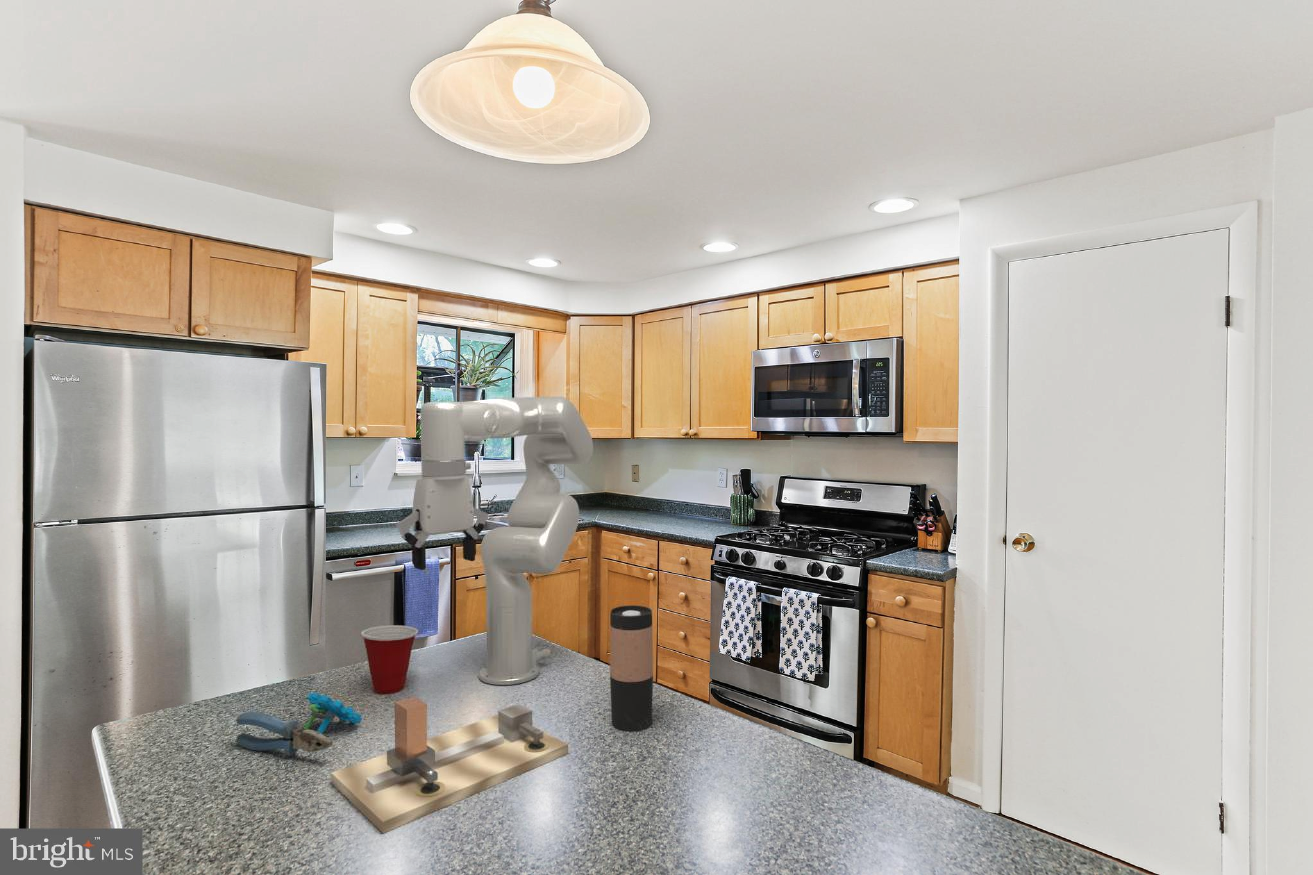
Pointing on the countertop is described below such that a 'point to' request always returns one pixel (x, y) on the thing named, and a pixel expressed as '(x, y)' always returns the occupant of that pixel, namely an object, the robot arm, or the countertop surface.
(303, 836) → the countertop surface
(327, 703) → the gear
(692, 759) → the countertop surface
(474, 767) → the wooden slide jig
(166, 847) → the countertop surface
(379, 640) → the plastic cup
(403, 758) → the block
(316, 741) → the pliers
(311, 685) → the countertop surface
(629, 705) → the travel mug
